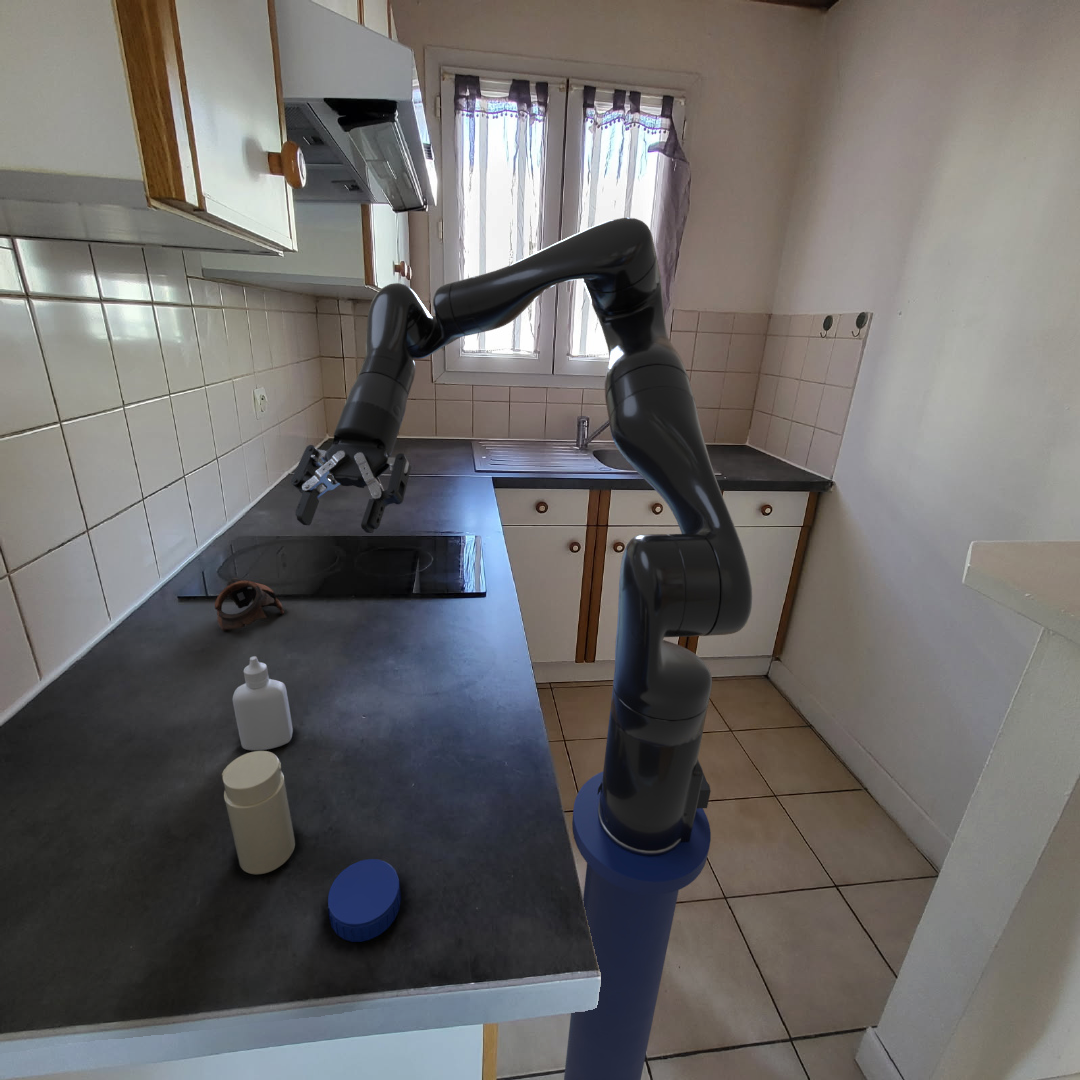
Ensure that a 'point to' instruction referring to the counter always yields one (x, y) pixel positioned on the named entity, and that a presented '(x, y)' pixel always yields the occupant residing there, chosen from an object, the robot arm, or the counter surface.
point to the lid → (364, 900)
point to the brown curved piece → (245, 603)
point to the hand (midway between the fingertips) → (334, 526)
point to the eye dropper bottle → (262, 709)
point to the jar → (258, 811)
